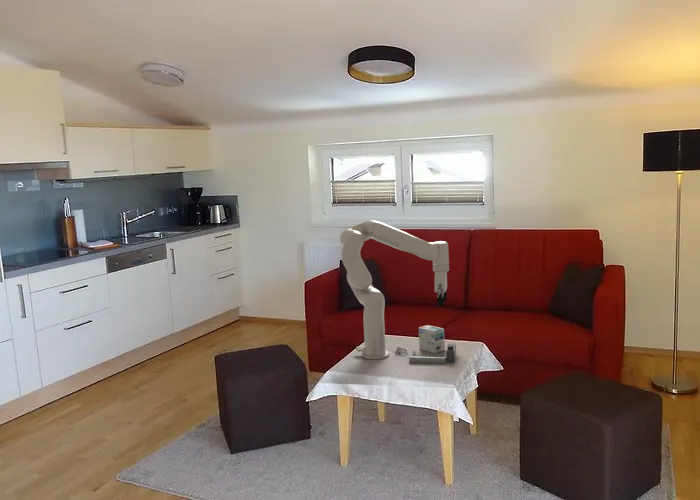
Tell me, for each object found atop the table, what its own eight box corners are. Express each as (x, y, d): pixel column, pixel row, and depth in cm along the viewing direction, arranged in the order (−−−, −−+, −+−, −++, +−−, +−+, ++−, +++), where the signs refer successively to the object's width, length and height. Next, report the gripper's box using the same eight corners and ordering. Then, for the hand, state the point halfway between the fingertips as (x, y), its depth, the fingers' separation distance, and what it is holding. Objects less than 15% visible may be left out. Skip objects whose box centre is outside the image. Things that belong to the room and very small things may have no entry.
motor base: (409, 362, 276) (408, 348, 275) (413, 351, 291) (413, 338, 290) (454, 363, 271) (453, 349, 270) (456, 352, 286) (456, 338, 285)
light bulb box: (445, 350, 291) (444, 328, 289) (435, 353, 286) (434, 331, 285) (428, 346, 299) (427, 324, 297) (418, 349, 295) (417, 327, 293)
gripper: (435, 264, 301) (436, 299, 304) (430, 271, 285) (431, 307, 287) (451, 264, 299) (452, 299, 301) (446, 270, 283) (447, 307, 285)
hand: (442, 303), depth 294 cm, fingers open, 9 cm apart
